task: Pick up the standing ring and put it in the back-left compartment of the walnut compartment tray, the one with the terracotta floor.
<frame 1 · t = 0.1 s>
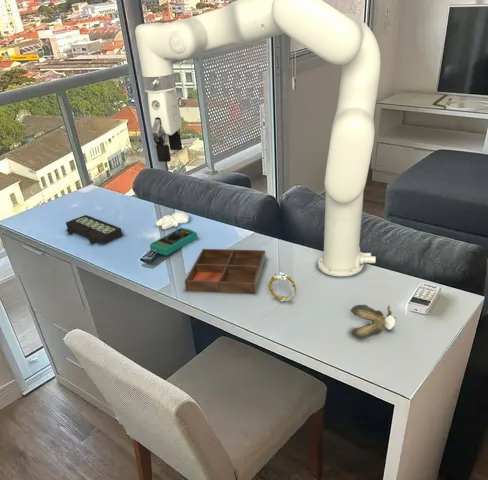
hand: (170, 155, 127), 31 cm above the table, tool pointing down, fingers open, 9 cm apart
eagle figurine: (371, 331, 112), on the table
tray: (227, 274, 137), on the table
ring: (282, 301, 125), on the table
astronaut figurine: (173, 223, 169), on the table
digital display: (92, 234, 166), on the table
digital multimeter: (174, 245, 155), on the table
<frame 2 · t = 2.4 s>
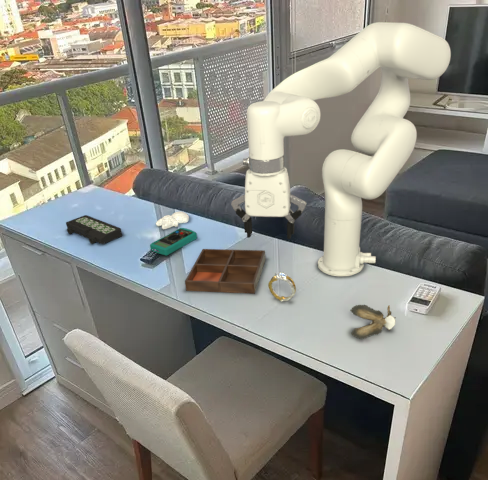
hand: (269, 235, 116), 17 cm above the table, tool pointing down, fingers open, 9 cm apart
nothing on the table moved.
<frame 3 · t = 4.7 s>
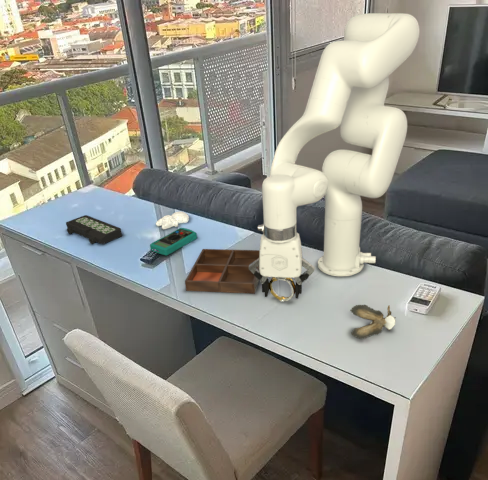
hand: (282, 294, 123), 2 cm above the table, tool pointing down, fingers closed on ring, 7 cm apart
ring: (282, 301, 125), on the table, touching gripper
everything else where it was.
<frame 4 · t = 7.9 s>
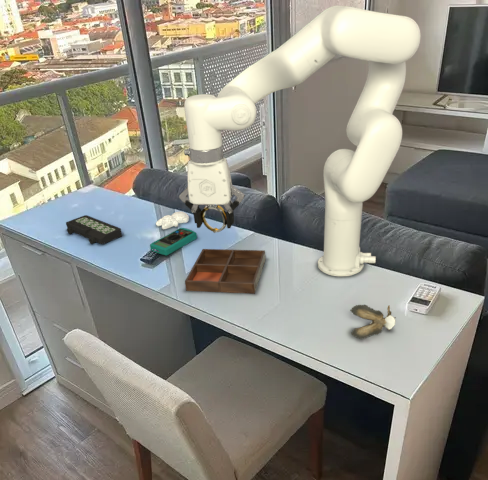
hand: (214, 225, 122), 18 cm above the table, tool pointing down, fingers closed on ring, 7 cm apart
ring: (215, 232, 123), point 16 cm above the table, touching gripper
everything else where it was.
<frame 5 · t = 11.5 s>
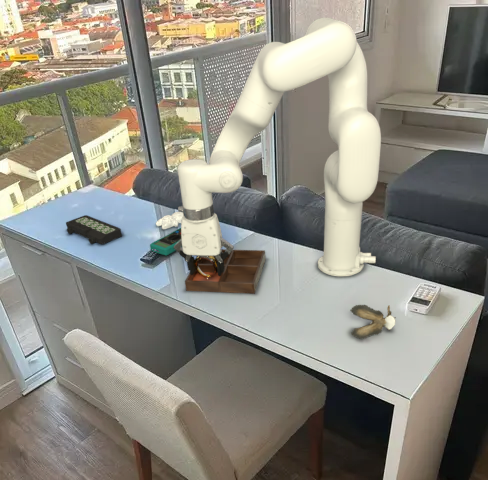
hand: (206, 272, 133), 3 cm above the table, tool pointing down, fingers closed on ring, 7 cm apart
ring: (207, 279, 134), point 1 cm above the table, touching gripper
everything else where it was.
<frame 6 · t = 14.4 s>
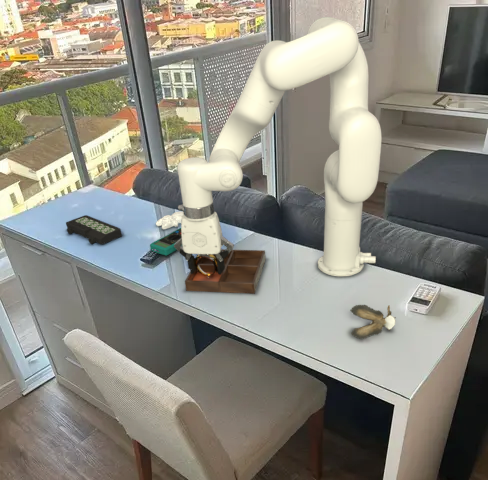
hand: (207, 271, 132), 3 cm above the table, tool pointing down, fingers closed on ring, 7 cm apart
ring: (207, 277, 134), point 1 cm above the table, touching gripper
everything else where it was.
when the fingers open (3 cm above the table, at t = 16.8 s): ring stays where it is, resting on tray.
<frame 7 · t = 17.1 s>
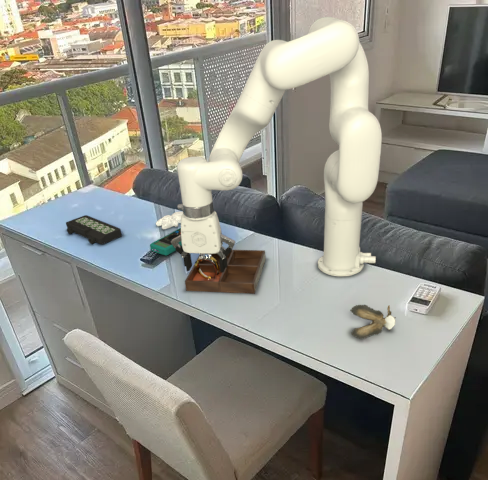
hand: (206, 269, 132), 4 cm above the table, tool pointing down, fingers open, 9 cm apart
ring: (208, 280, 134), point 1 cm above the table, touching tray
everything else where it was.
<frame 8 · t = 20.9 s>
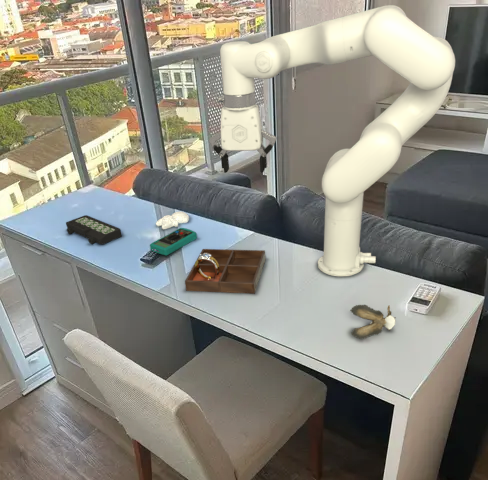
hand: (244, 170, 128), 26 cm above the table, tool pointing down, fingers open, 9 cm apart
nothing on the table moved.
at the end: ring inside the target area in the tray (0.4 cm from its centre), point 0.5 cm above the tray's base; the gripper is holding nothing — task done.
